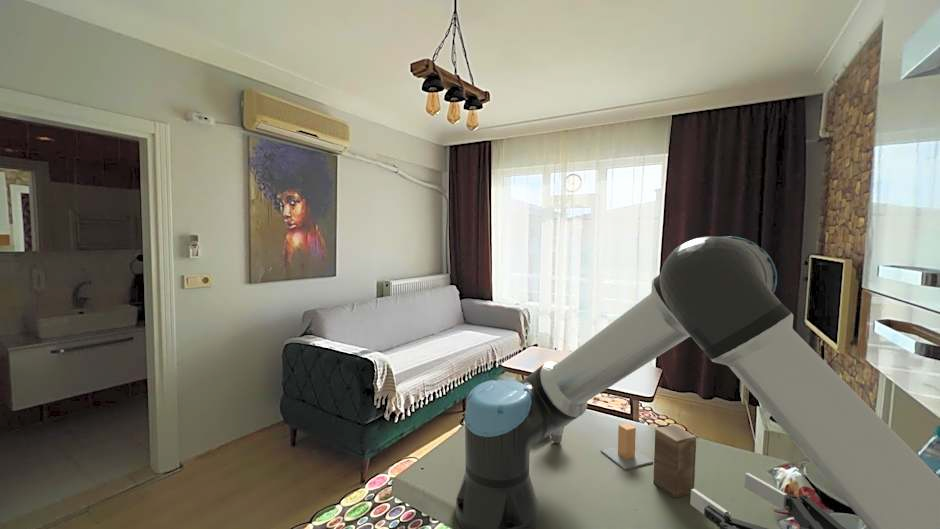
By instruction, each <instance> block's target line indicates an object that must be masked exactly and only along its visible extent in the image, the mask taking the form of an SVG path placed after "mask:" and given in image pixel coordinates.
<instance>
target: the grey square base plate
mask: <svg viewBox="0 0 940 529" xmlns="http://www.w3.org/2000/svg"><path fill="white" fill-rule="evenodd" d="M636 431H637V430H636V427H635V426H633V425H631V424H630V423H629V422H625V423H620V424H618V430H617V432H618V435H617V438H618V440H617V445H615V446H612V447H608V448H604V449H600V452H601V453H602V454H604V455H605V456H606V457H607V458H608V459H610V460H611V461H612V462H614V463H615V464H616V465H618V466H619V467H620V468H622V469H623V470H624V471H626V470H630V469H635V468H638V467H642V466H647V465H651V464H654V460H651V459H650V458H649V457H647V456H646V455H644V454H643V453H642V452H640V451H639V450H637V449H636Z"/></svg>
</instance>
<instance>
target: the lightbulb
mask: <svg viewBox="0 0 940 529" xmlns="http://www.w3.org/2000/svg"><path fill="white" fill-rule="evenodd" d="M564 428H565V426H564V427H562V428H560V429H558V430H557V431H555V432H553V433H552V434H550V435H551V436H550V437H551V438H550V439H551V441H552V442H553V443H554V444H560V443H561V442H562V440H563V439H562V438H563V434H564Z"/></svg>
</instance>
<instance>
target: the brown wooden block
mask: <svg viewBox="0 0 940 529" xmlns="http://www.w3.org/2000/svg"><path fill="white" fill-rule="evenodd" d="M654 430H655V431H654V434H655V435H654V455H653V456H654V458H653V484H655V485H656V486H657V487H659V488H660V489H661V490H662V491H664V492H665V493H666V494H668V495H669V496H670V497H672V498H673V499H677V498H680V497H683V496H688V495H691V489H695V476H696V454H697V450H696V449H697V436H696V435H694V434H692V433H691V432H689V431H687V430H685V429H683V428H681V427H680V426H677V425H676V424H672V425H667V426H662V427H658V428H657V427H656V428H655V429H654Z"/></svg>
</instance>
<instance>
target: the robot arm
mask: <svg viewBox="0 0 940 529" xmlns="http://www.w3.org/2000/svg"><path fill="white" fill-rule="evenodd" d="M775 265H776V264H774V262H773V260H772V258H771V257H770V255H769V254H768V253H767V252H766V251H765V249H764V248H761V247H760V246H759V245H758V244H757V243H754V242H753V241H751V240H749V239H746V238H743V237H738V236H734V235H733V236H731V235H729V236H711V235H710V236H701V237H696V238H693V239H690V240H687V241H685V242H683V243H682V244H680V245H678V246H677V247H676V248H674V249H673V250H672V251H671V252H670V254H669V255H668V256H667V258H666V260H665V261H664V262H663V265H662V267H661V270H660V273H659V274H658V275H657V276H656V277H654V278H653V279H652V281H651V292H650V293H649V294H648V295H646V297H644V298H643V299H642V300H640V301H638V303H636V304H634V306H632V307H631V308H630V309H628V310H627V311H625V312H624V313H623V314H621V315H620V316H618V318H616V319H615V320H614V321H613V322H611V323H610V324H608V325H607V326H606V327H604V328H603V329H601V331H599V332H598V333H596V334H595V335H594V336H592V337H591V338H590V339H588V340H587V341H586V342H585V343H583V344H582V345H580V346H579V347H578V348H576V349H575V350H574V351H572V352H571V353H570V354H568V355H567V356H566V357H564V358H563V359H562V360H561V361H557V360H549V361H546V362H545V363H543V364H542V365H541V366H540V367H538V368H537V369H536V370H534V371H533V372H532V373H530V374H529V375H527V376H526V377H524V378H523V379H520V380H519V381H518V380H514V379H510V378H509V379H508V378H499V379H497V380H494V379H491V380H490V379H489V380H485V381H484V382H482V383H479V384H478V385H476V386H474V387H473V389H471V390H470V392H469V393H468V394H467V398H466V404H465V411H464V425H465V427H464V428H465V429H464V431H465V433H464V434H465V437H464V438H465V446H464V447H465V472H464V475H463V478H462V480H461V484H460V487H459V489H458V492H457V495H456V500H455V518H456V521H457V523H458V525H459V527H460V528H461V529H536V528H537V525H538V522H539V502H538V497H537V495H536V493H535V489H534V486H533V482H532V479H531V476H530V450H531V448H532V447H534V446H535V445H537V444H538V443H540V442H541V441H543V440H544V439H546V438H548V437H549V436H550V435H551V434H552V433H553V432H555V431H557V430H558V429H560V428H562V427H564V428H565V427H566V426H567V425H568V424H570V423H572V421H574V420H576V419H578V418H579V417H581V416H582V415H583V414H584V413H586V411H587V408H588V401H590V400H592V399H593V398H594V397H596V396H598V395H599V394H601V393H602V392H604V391H606V390H608V389H609V388H611V387H612V386H613V385H615V384H617V383H618V382H620V381H621V380H624V379H625V378H626V377H628V376H630V375H631V374H632V373H634V372H636V371H637V370H639V369H640V368H643V367H644V366H645V365H647V364H648V363H650V362H652V361H653V360H654V359H657V358H658V357H660V356H661V355H662V354H664V353H666V352H667V351H670V350H671V349H672V348H675V346H677V345H679V344H680V343H682V342H684V341H685V340H686V339H688V338H692V339H693V341H694V342H695V343H696V345H698V346H699V348H700V349H701V350H702V351H703V353H704V354H705V355H706V356H707V357H708V358H709V359H710V361H712V362H713V363H716V364H720V365H725V366H727V367H729V369H730V370H731V371H732V372H733V374H734V375H735V376H736V377H737V378H738V379H739V380H740V382H741V383H742V384H743V385H744V386H745V387H746V388H747V389H748V391H749V392H750V393H751V395H753V397H754V398H755V399H756V400H757V401H758V402H759V404H760V405H761V406H762V407H763V408H764V409H765V410H766V412H767V413H768V414H769V415H770V416H771V417H772V418H773V420H775V422H776V423H777V424H778V425H779V426H780V428H781V429H782V430H783V431H784V432H785V433H786V435H787V436H788V437H789V438H790V440H792V441H793V443H794V444H795V445H796V446H797V447H798V449H799V450H800V451H801V453H803V455H804V456H805V457H806V458H807V459H808V460H809V461H810V462H811V464H812V465H813V467H815V468H816V469H817V470H818V472H819V473H820V474H821V475H822V476H823V478H824V479H826V481H827V482H828V483H829V484H830V486H831V487H832V488H833V489H834V491H836V492H837V494H838V495H839V496H840V497H841V499H842V500H843V501H844V502H845V503H846V504H847V506H849V507H850V508H851V509H852V511H853V512H854V513H855V514H856V516H857V517H858V518H859V520H861V521H862V523H863V524H864V525H865V526H866V527H867V528H868V529H940V476H938V475H937V474H936V473H935V472H934V471H933V470H932V468H930V467H929V465H927V463H925V461H923V459H921V457H920V456H919V455H918V454H917V453H916V452H915V451H914V450H913V449H911V447H910V446H909V445H908V444H907V443H906V442H905V441H904V440H903V439H902V438H901V437H900V436H899V435H898V434H897V433H896V432H895V431H894V430H893V429H892V428H891V427H890V426H889V425H888V424H887V423H886V422H885V421H884V420H883V419H882V418H881V417H880V415H878V414H877V413H876V412H875V411H874V410H873V409H872V408H871V407H870V406H869V405H868V403H866V402H865V401H864V400H863V399H862V398H861V397H860V396H859V394H857V392H855V390H853V389H852V388H851V386H850V385H848V383H847V382H846V381H845V380H844V379H843V378H842V377H841V376H840V375H839V374H838V373H837V372H836V371H835V370H834V369H833V368H832V367H831V366H830V365H829V364H828V362H826V361H825V360H824V359H823V358H822V357H821V356H820V355H819V354H818V353H817V352H816V351H815V350H814V349H813V348H812V347H811V346H810V345H809V344H808V342H806V341H805V340H804V339H803V338H802V337H801V336H800V335H799V334H798V333H797V332H796V331H795V329H794V328H793V327H794V326H793V324H794V314H793V313H792V312H791V311H790V310H789V309H788V308H787V307H786V306H785V305H784V304H783V303H782V302H781V301H780V299H779V298H778V297H777V296H776V294H775V292H776V287H777V285H778V284H777V283H778V273H777V269H776V266H775ZM744 489H746V490H748V491H750V492H751V493H753V494H755V495H756V496H758V497H760V498H762V499H764V500H765V501H767V502H768V503H770V504H772V505H773V506H775V507H776V508H778V509H780V510H782V511H785V510H787V514H790V515H791V516H792V517H793V519H794V520H795V522H796V524H798V526H799V527H798V529H847V528H846V527H845V526H843V525H841V523H839V521H838V520H836V519H835V518H834V517H833V516H831V515H830V514H829V513H828V512H827V511H825V509H823V508H822V507H820V505H819V504H818V503H816V502H815V501H814V500H813V499H812V498H810V497H809V496H808V495H806V494H804V493H803V494H800V495H799V496H797V495H795V494H788V493H786V492H785V491H783V490H780V489H778V488H777V487H776V486H773V485H771V484H769V483H768V482H766V481H764V480H762V479H760V478H758V477H757V476H755V475H753V474H751V473H749V472H746V473H745V474H744ZM690 506H692V507H693V508H694V509H696V510H697V511H699V513H701V514H702V515H704V517H705V518H706V519H707V520H709V521H710V522H711V523H713V524H714V525H715V526H717V527H718V528H719V529H769V528H768V527H764V526H762V525H761V526H760V525H758V524H754V523H751V522H747V521H743V520H741V519H737V518H734V517H731V514H732V513H731V512H729V511H728V510H727V509H725V508H724V507H722V506H721V505H719V504H718V503H716V502H715V501H713V500H712V499H710V498H709V497H707V496H706V495H704V494H703V493H702V492H700V491H698V490H697V489H696V488H694V489H691V494H690Z"/></svg>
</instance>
